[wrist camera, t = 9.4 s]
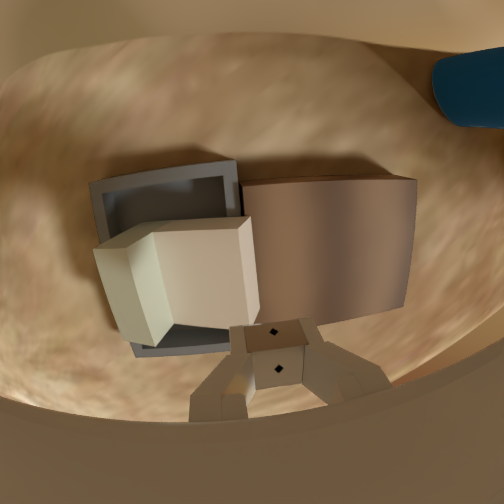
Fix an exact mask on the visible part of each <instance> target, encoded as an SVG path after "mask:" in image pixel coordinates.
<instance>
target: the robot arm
mask: <svg viewBox="0 0 504 504" xmlns="http://www.w3.org/2000/svg"><path fill="white" fill-rule="evenodd" d="M229 337H230V352H231V355H226V357H225V358H224V359H223V360H222V361H221V362H220V363H219V365H218V366H217V367H216V368H215V369H214V370H213V371H212V372H211V374H210V375H209V376H208V377H207V378H206V379H205V380H204V381H203V382H202V384H201V385H200V386H199V387H198V388H197V389H196V390H195V391H194V392H193V393H192V394H191V396H190V409H189V422H141V421H126V420H115V419H105V418H97V417H89V416H82V415H76V414H70V413H65V412H60V411H55V410H50V409H45V408H41V407H37V406H33V405H29V404H25V403H21V402H18V401H14V400H11V399H7V398H4V397H1V396H0V504H504V337H503V338H502V339H500V340H498V341H496V342H495V343H493V344H491V345H489V346H487V347H486V348H484V349H482V350H480V351H478V352H476V353H474V354H472V355H470V356H468V357H466V358H464V359H462V360H460V361H457V362H455V363H453V364H451V365H449V366H446V367H444V368H442V369H439V370H437V371H435V372H432V373H430V374H427V375H425V376H422V377H420V378H417V379H415V380H412V381H409V382H407V383H404V384H401V385H398V386H395V387H393V386H392V384H391V383H390V381H389V380H388V378H387V377H386V375H385V374H384V372H383V371H382V369H381V367H380V366H378V365H376V364H374V363H372V362H370V361H367V360H365V359H363V358H361V357H359V356H357V355H355V354H353V353H351V352H349V351H347V350H345V349H343V348H341V347H339V346H337V345H335V344H333V343H331V342H329V341H327V342H324V340H323V338H322V336H321V334H320V332H319V330H318V329H317V327H316V325H315V323H314V321H313V319H312V317H310V316H309V317H303V318H297V319H293V320H286V321H279V322H272V323H271V322H269V323H259V324H248V325H244V326H243V325H238V326H229ZM300 383H302V384H303V385H304V386H305V387H307V388H308V389H309V390H310V391H311V392H313V393H314V394H315V395H316V396H318V397H319V398H320V399H322V400H323V401H324V402H325V403H327V404H328V405H327V406H323V407H318V408H313V409H308V410H303V411H298V412H292V413H286V414H280V415H273V416H266V417H258V418H249V419H248V413H247V406H248V404H249V402H250V400H251V399H252V397H253V395H254V393H255V391H256V390H259V389H266V388H272V387H278V386H286V385H293V384H300Z"/></svg>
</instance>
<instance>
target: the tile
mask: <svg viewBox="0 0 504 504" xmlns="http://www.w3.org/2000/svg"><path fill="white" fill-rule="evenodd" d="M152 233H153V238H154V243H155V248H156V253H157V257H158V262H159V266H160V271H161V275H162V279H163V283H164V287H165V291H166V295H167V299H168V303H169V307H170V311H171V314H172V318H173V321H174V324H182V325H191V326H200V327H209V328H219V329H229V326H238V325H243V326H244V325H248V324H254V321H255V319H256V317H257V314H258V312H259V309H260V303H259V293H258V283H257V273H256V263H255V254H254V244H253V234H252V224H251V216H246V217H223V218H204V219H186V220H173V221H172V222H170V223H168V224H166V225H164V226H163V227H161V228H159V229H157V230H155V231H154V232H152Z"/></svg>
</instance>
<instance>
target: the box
mask: <svg viewBox="0 0 504 504" xmlns="http://www.w3.org/2000/svg"><path fill="white" fill-rule="evenodd" d="M89 188H90V194H91V201H92V206H93V212H94V217H95V222H96V227H97V232H98V237H99V241H100V244H102V243H104V242H106V241H108V240H109V239H111V238H113V237H115V236H117V235H119V234H121V233H122V232H124V231H126V230H128V229H130V228H132V227H134V226H136V225H138V224H140V223H142V222H151V221H164V220H186V219H204V218H223V217H241V211H240V199H239V188H238V176H237V164H236V160H234V159H231V160H221V161H212V162H203V163H195V164H187V165H180V166H173V167H166V168H159V169H153V170H147V171H141V172H136V173H130V174H125V175H120V176H115V177H110V178H105V179H101V180H98V181H94V182H91V183H89ZM130 344H131V347H132V350H133V352H134V355H135V357H136V358H140V357H163V356H179V355H193V354H204V353H215V352H224V351H230V337H229V329H219V328H209V327H200V326H191V325H182V324H173V325H172V327H171V328H170V329H169V330H168V332H167V333H166V334H165V335H164V337H163V338H162V339H161V340H160V342H159V343H158V344H157V346H156V347H154V346H149V345H144V344H139V343H134V342H130Z"/></svg>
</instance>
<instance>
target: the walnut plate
mask: <svg viewBox="0 0 504 504" xmlns="http://www.w3.org/2000/svg"><path fill="white" fill-rule="evenodd" d="M238 182H239V194H240V206H241V217H246V216H251V224H252V234H253V244H254V254H255V263H256V273H257V283H258V293H259V303H260V309H259V312H258V314H257V317H256V319H255V321H254V324H259V323H269V322H271V323H272V322H279V321H286V320H293V319H297V318H303V317H309V316H310V317H312V319H313V321H314V323H315V325H316V326H319V325H324V324H329V323H335V322H340V321H344V320H349V319H354V318H358V317H363V316H367V315H372V314H376V313H380V312H384V311H389V310H393V309H397V308H401V307H403V305H404V300H405V295H406V290H407V284H408V278H409V272H410V265H411V258H412V250H413V241H414V231H415V219H416V205H417V180H416V179H411V178H407V177H402V176H398V175H330V176H306V177H289V178H274V179H260V180H249V181H238Z"/></svg>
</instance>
